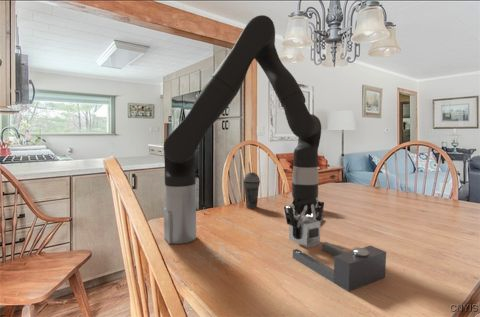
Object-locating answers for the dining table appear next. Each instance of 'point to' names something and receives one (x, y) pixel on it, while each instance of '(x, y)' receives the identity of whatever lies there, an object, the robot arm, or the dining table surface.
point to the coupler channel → (348, 265)
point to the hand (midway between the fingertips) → (304, 236)
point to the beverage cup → (251, 189)
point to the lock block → (307, 232)
